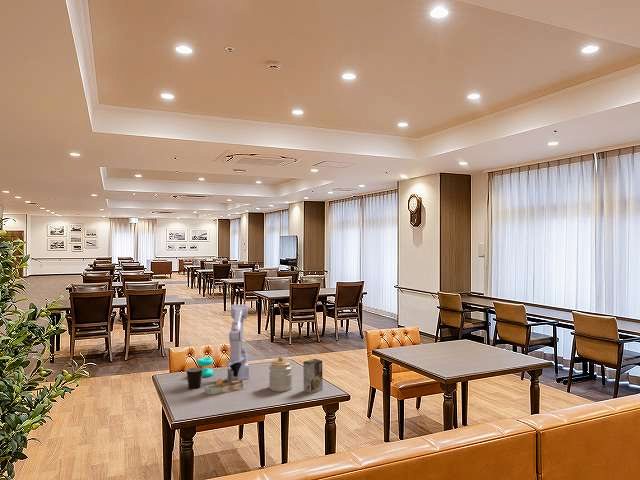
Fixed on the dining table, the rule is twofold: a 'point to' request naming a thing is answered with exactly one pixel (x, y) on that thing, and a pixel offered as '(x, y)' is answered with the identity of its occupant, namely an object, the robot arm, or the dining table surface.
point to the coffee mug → (194, 377)
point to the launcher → (231, 386)
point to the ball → (219, 382)
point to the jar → (280, 375)
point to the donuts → (205, 362)
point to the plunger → (229, 376)
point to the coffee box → (312, 375)
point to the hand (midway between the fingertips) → (235, 376)
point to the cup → (212, 389)
